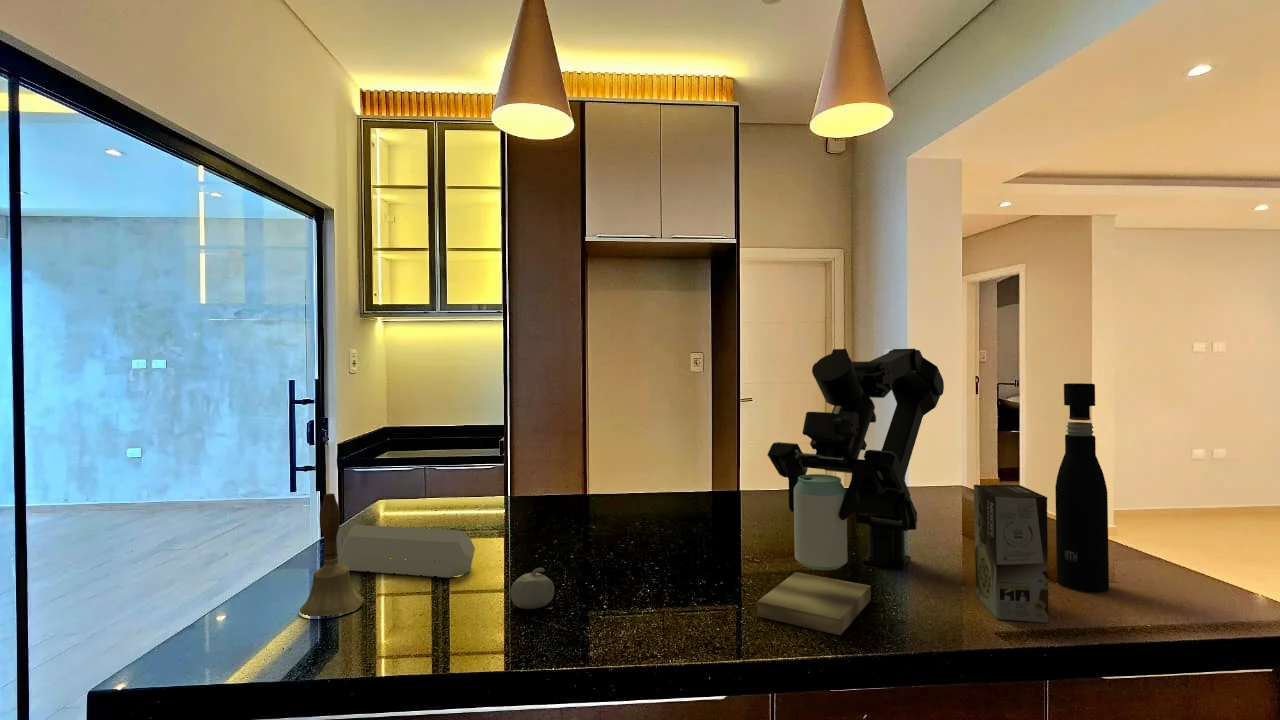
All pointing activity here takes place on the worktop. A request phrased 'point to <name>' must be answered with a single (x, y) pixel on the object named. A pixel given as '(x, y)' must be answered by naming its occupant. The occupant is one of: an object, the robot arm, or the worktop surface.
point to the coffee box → (1011, 552)
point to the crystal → (407, 551)
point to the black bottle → (1081, 501)
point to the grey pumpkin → (532, 590)
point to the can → (819, 522)
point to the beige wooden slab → (815, 602)
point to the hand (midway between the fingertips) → (815, 514)
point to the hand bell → (331, 571)
